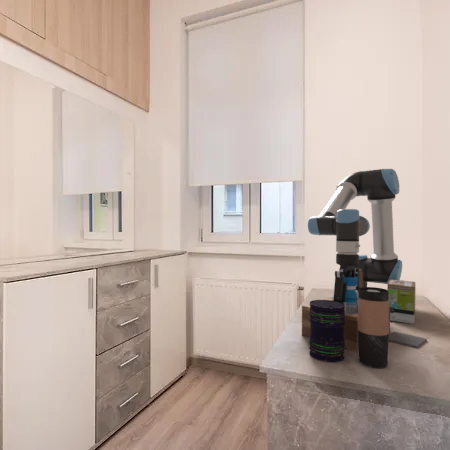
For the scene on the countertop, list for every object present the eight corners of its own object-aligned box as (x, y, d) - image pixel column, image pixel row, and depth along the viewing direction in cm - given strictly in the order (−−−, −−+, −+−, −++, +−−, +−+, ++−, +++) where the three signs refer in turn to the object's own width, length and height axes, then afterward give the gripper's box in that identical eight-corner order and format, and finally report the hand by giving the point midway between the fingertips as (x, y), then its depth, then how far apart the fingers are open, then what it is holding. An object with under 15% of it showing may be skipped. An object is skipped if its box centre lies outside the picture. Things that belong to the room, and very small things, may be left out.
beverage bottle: (344, 338, 105) (344, 278, 105) (329, 330, 113) (329, 274, 113) (365, 336, 107) (365, 277, 108) (349, 328, 116) (349, 273, 116)
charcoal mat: (394, 332, 111) (394, 331, 111) (426, 340, 104) (426, 338, 104) (383, 339, 104) (383, 337, 104) (417, 348, 97) (417, 346, 97)
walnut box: (339, 319, 127) (339, 294, 127) (390, 331, 113) (390, 303, 113) (301, 335, 108) (301, 305, 108) (356, 351, 94) (356, 317, 94)
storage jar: (304, 349, 96) (304, 299, 96) (335, 348, 96) (336, 299, 96) (316, 363, 86) (316, 308, 86) (351, 362, 86) (351, 307, 87)
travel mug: (392, 362, 87) (392, 289, 87) (383, 371, 81) (384, 293, 81) (363, 354, 92) (363, 285, 92) (353, 362, 86) (354, 289, 86)
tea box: (415, 324, 122) (415, 286, 122) (386, 320, 127) (386, 283, 127) (415, 315, 135) (415, 280, 135) (388, 312, 140) (389, 278, 140)
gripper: (343, 255, 101) (343, 327, 101) (370, 252, 115) (370, 315, 115) (322, 254, 106) (322, 322, 106) (350, 251, 120) (350, 311, 120)
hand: (347, 318), depth 111 cm, fingers closed on beverage bottle, 8 cm apart
